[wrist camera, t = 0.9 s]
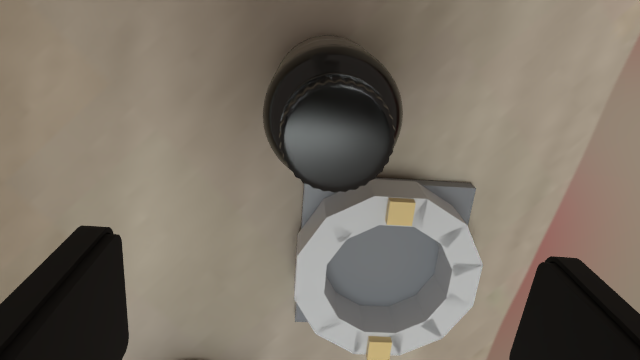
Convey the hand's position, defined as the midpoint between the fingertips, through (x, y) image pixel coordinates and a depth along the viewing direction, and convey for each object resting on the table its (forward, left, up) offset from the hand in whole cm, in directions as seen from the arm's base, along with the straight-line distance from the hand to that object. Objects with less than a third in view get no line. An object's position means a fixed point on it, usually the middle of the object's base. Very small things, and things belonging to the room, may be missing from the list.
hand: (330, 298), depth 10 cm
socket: (+11, +6, -21) cm, 24 cm away
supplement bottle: (-1, +1, -21) cm, 21 cm away
